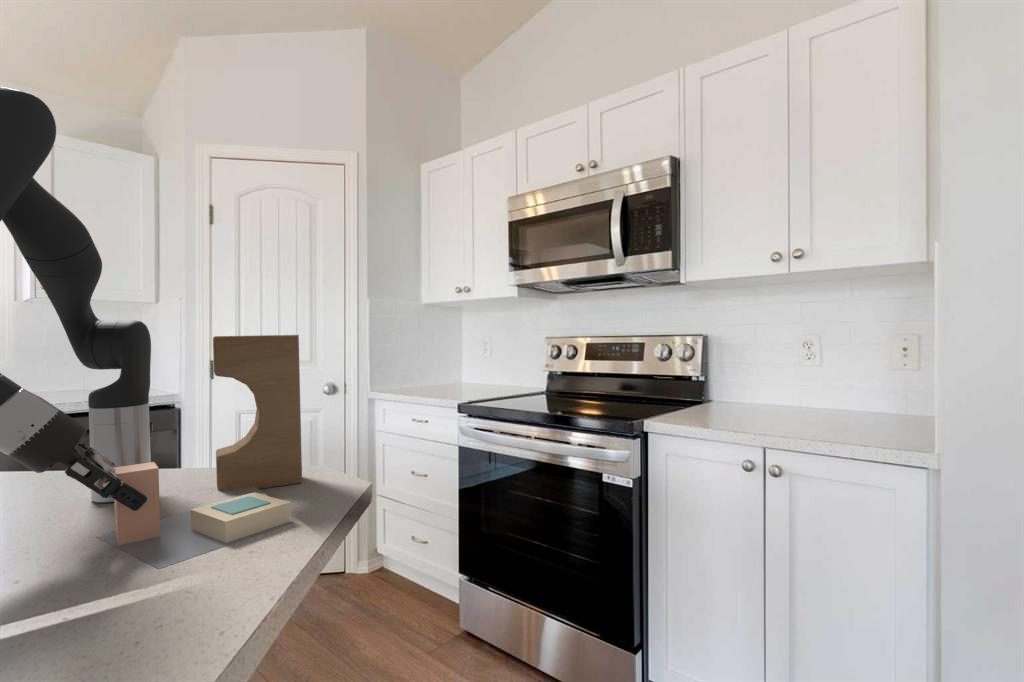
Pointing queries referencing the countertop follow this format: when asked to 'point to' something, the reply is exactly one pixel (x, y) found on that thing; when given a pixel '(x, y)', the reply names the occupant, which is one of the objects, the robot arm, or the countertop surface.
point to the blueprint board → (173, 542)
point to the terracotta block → (148, 515)
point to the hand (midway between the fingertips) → (139, 498)
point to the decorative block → (263, 411)
